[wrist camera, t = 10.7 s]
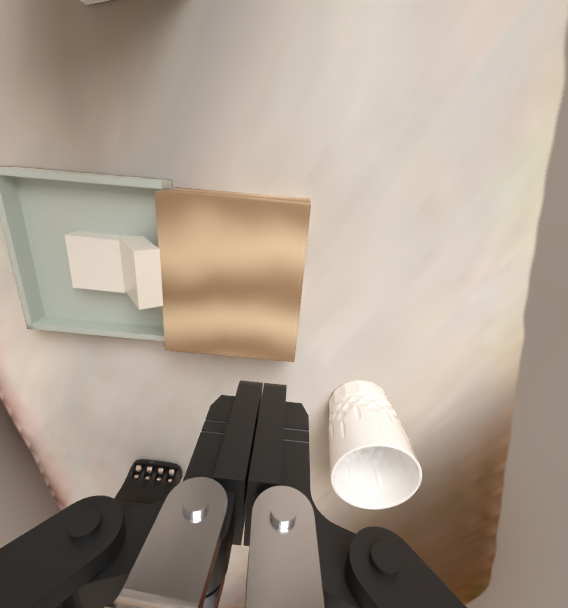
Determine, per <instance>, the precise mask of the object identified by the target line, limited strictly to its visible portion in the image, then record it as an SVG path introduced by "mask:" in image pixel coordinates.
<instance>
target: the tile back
mask: <svg viewBox="0 0 568 608" xmlns="http://www.w3.org/2000/svg"><path fill="white" fill-rule="evenodd" d="M64 236H65V242H66V248H67V254H68V260H69V267H70V273H71V279H72V285H73V288H81V289H91V290H101V291H110V292H120V293H126V291H125V289H124V280H123V271H122V261H121V252H120V243H119V237H125V236H124V235H115V234H105V233H95V232H85V231H76V232H73V233H69V234H66V235H64Z"/></svg>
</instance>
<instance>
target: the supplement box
mask: <svg viewBox="0 0 568 608" xmlns="http://www.w3.org/2000/svg"><path fill="white" fill-rule="evenodd" d="M80 1H81V2H82V3H84V4H85V5H90V4H95V3H99V2H104V1H109V0H80Z"/></svg>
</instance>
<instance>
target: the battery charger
mask: <svg viewBox="0 0 568 608" xmlns="http://www.w3.org/2000/svg"><path fill="white" fill-rule="evenodd" d="M182 481H183V475H182V470H181V468H180V466H178V465H177V464H173V463H167V462H160V461H152V460H136V461H135V462H134V463H133V465H132V467H131V469H130V471H129V473H128V476H127V478H126V480H125V482H124V484H123V486H122V487H121V489H120V491H119V492H118V494H117V495H116V497H115V500H116V501H117V502H118V503H119V504H120V506H121V508H122V510H125V509H130V508H135V507H140V506H144V505H149V504H153V503H156V502H158V501H160V500H162V499H164V498H166V497H167V496H168V494H169V493H170V492H171V491H172V489H173V488H175V487H176V486H177V485H178V484H180V483H181V482H182Z"/></svg>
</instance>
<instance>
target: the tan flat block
mask: <svg viewBox="0 0 568 608" xmlns="http://www.w3.org/2000/svg"><path fill="white" fill-rule="evenodd" d="M155 207H156V222H157V236H158V248H159V249H160V260H161V277H162V293H163V306H162V309H163V324H164V339H165V350H170V351H181V352H192V353H203V354H214V355H224V356H235V357H246V358H257V359H267V360H278V361H289V362H294V359H295V350H296V340H297V331H298V321H299V312H300V303H301V293H302V284H303V274H304V265H305V255H306V246H307V236H308V227H309V217H310V208H311V204H310V200H309V199H304V198H293V197H281V196H270V195H258V194H246V193H235V192H223V191H212V190H200V189H189V188H171V189H166V190H161V191H156V192H155Z"/></svg>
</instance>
